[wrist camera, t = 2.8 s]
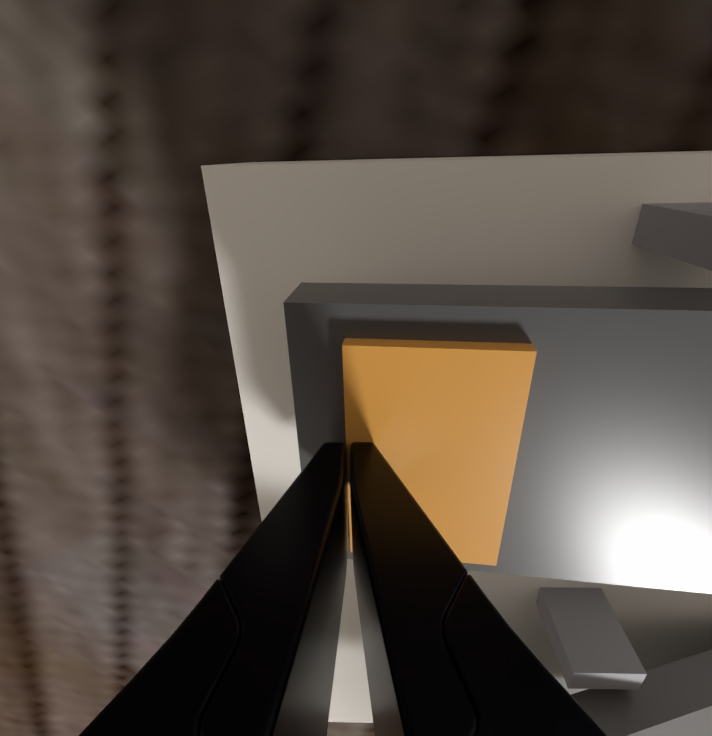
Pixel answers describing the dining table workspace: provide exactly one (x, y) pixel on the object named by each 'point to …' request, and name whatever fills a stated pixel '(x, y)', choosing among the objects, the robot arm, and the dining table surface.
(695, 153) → the panel
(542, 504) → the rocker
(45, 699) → the dining table surface
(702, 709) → the rocker
